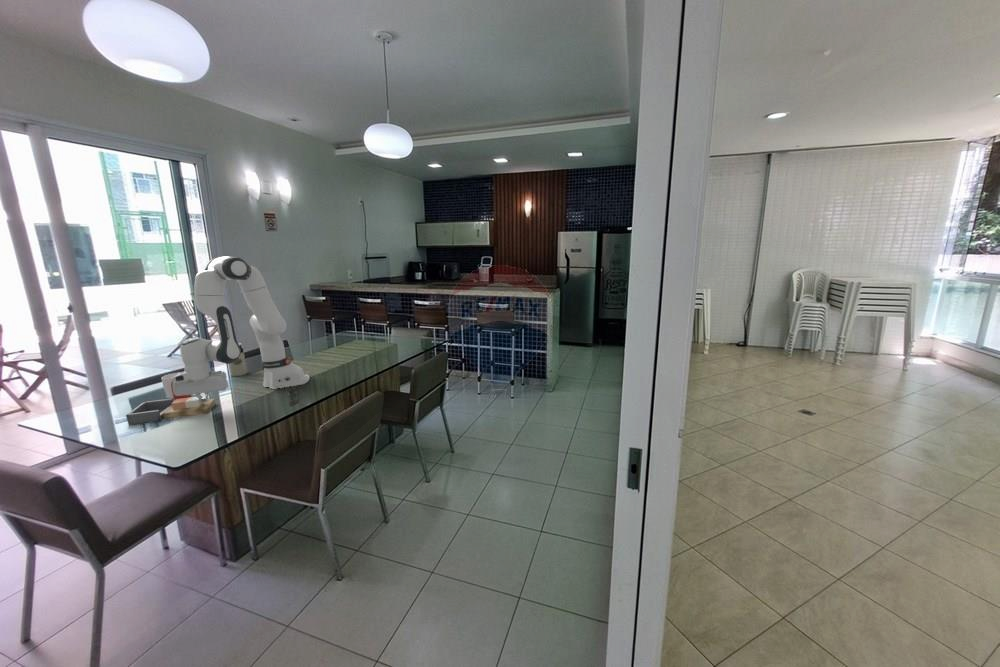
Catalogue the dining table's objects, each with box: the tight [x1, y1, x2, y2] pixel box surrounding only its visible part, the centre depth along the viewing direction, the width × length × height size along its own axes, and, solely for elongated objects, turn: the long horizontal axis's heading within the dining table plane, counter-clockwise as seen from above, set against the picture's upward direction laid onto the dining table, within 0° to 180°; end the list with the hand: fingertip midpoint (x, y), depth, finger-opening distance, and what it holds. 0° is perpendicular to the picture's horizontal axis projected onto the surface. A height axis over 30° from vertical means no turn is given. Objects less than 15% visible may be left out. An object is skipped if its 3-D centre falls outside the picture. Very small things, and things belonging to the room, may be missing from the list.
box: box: [125, 398, 174, 427], centre depth 171 cm, size 11×14×5 cm
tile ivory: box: [185, 396, 203, 408], centre depth 175 cm, size 5×5×3 cm
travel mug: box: [228, 342, 248, 377], centre depth 221 cm, size 8×8×18 cm
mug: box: [161, 372, 179, 400], centre depth 193 cm, size 12×9×11 cm
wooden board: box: [162, 398, 217, 420], centre depth 175 cm, size 16×11×3 cm
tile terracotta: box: [171, 398, 189, 410], centre depth 174 cm, size 5×5×3 cm
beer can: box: [171, 381, 193, 401], centre depth 183 cm, size 7×7×12 cm
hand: (204, 401), depth 176 cm, fingers closed
